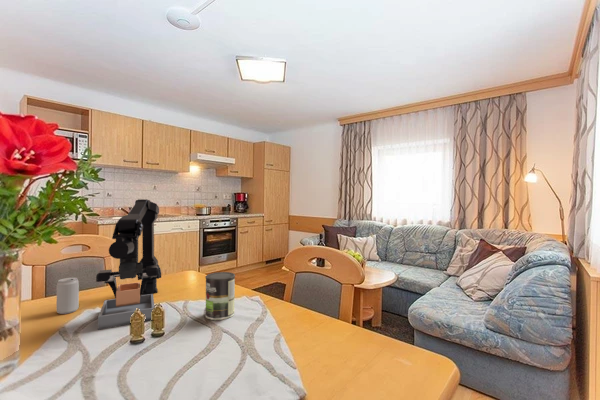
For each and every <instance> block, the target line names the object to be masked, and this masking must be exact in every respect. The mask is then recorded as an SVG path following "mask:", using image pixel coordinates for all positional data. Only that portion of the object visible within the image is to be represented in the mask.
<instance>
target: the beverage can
mask: <svg viewBox="0 0 600 400" xmlns="http://www.w3.org/2000/svg"><path fill="white" fill-rule="evenodd" d="M79 285H80V281H79V280H78V277H65V278H61V279H59V280H57V283H56V312H57V313H58V314H60V315H67V314H71V313H74V312H76V311H77V310H78V309H80V308H79V306H80V305H79V303H80V302H79V299H80V296H79V295H80V291H79V290H80V287H79Z"/></svg>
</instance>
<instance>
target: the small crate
mask: <svg viewBox="0 0 600 400" xmlns="http://www.w3.org/2000/svg"><path fill="white" fill-rule="evenodd" d="M140 288H141V282H140V281H137V282H129V283H122V284H118V285H117V291H116V298H115V299H116V307H119V306H126V305H133V304H139V303H140Z"/></svg>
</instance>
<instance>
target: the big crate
mask: <svg viewBox="0 0 600 400" xmlns="http://www.w3.org/2000/svg"><path fill="white" fill-rule="evenodd" d="M136 308H139V309H140V311H141V312H142V313H143V314H145V316H146V319H145V322H150V320H151V312H152V310H153V308H155V299H154V293H150V294H143V295H141V296H140V303H139V304H133V305H126V306H119V307H116V298H112V299H105V300H104V301H103V304H102V306H101V309H100V311H99V314H98V317H97V330H98V331H99V330H105V329H110V327H111V328H116V327H121V326H120V325H122V326H126V325H125V324H128V325H130V324H129V323H130V317H131V315H132V314H133V313H134V311H135V310H136ZM151 321H152V320H151ZM115 326H116V327H115Z"/></svg>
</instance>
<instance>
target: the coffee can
mask: <svg viewBox="0 0 600 400" xmlns="http://www.w3.org/2000/svg"><path fill="white" fill-rule="evenodd" d="M204 277H205V318H206V319H208V320H212V321H223V320H226V319H230V318H232V317H233V316H234V315H235V313H236V312H235V298H236V297H235V287H236V286H235V285H236V284H235V281H236V279H235V278H236V274H235V273H234V272H228V271H221V272H213V273H212V272H211V273H209V274H206V275H205V276H204Z"/></svg>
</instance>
